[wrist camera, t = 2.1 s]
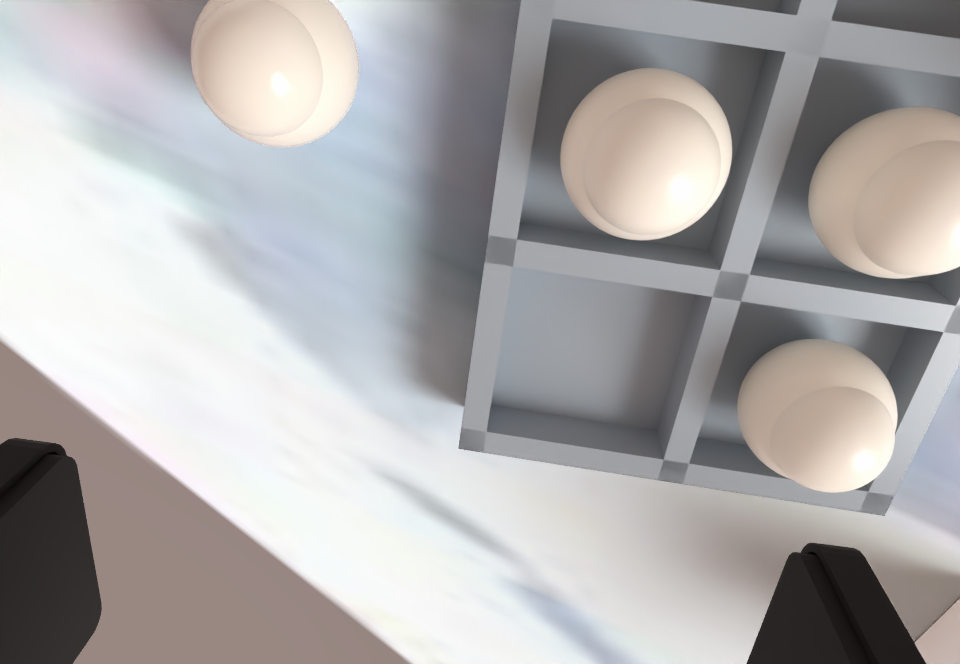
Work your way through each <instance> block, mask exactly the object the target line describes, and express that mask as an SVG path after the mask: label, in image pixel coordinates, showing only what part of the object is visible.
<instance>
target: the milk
mask: <svg viewBox="0 0 960 664" xmlns="http://www.w3.org/2000/svg"><path fill="white" fill-rule="evenodd" d="M915 645H916V647H917V649H918V650H919V652H920V654H921V655H922V657H923V659H924V661H925V662H926V664H960V599H959V600H958V601H957V602H956V603H955V604H954V605H953V606H952V607H950V608H949V609H948V610H947V611H946V612H945V613H944V614H943V615H942V616H941V617H940V618H939V619H938V620H937V621H936V622H935V623H934V624H933V625H932V626H931V627H930V628H929V629H928V630H927V631H926V632H925V633H924V634H923V635H922V636H921V637H920V638H919V639H918V640H917V641H916V642H915Z"/></svg>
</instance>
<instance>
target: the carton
mask: <svg viewBox="0 0 960 664" xmlns="http://www.w3.org/2000/svg"><path fill="white" fill-rule="evenodd" d="M959 363H960V0H521V4H520V11H519V18H518V25H517V32H516V39H515V47H514V54H513V61H512V68H511V75H510V82H509V90H508V97H507V104H506V111H505V118H504V126H503V133H502V140H501V147H500V154H499V161H498V169H497V176H496V183H495V190H494V197H493V205H492V212H491V219H490V226H489V233H488V240H487V248H486V255H485V262H484V269H483V276H482V284H481V291H480V298H479V305H478V312H477V319H476V327H475V334H474V341H473V348H472V355H471V363H470V370H469V377H468V384H467V391H466V398H465V406H464V413H463V420H462V427H461V434H460V441H459V449H464V450H470V451H477V452H483V453H489V454H496V455H502V456H508V457H515V458H521V459H527V460H534V461H540V462H546V463H553V464H559V465H565V466H572V467H578V468H584V469H591V470H597V471H603V472H610V473H616V474H622V475H629V476H635V477H641V478H648V479H654V480H660V481H667V482H673V483H679V484H686V485H692V486H698V487H705V488H711V489H717V490H724V491H730V492H736V493H743V494H749V495H755V496H762V497H768V498H774V499H781V500H787V501H793V502H800V503H806V504H812V505H819V506H825V507H831V508H838V509H844V510H850V511H857V512H863V513H869V514H876V515H882V516H885V514H886V512H887V510H888V508H889V505H890V503H891V501H892V499H893V497H894V495H895V493H896V491H897V489H898V487H899V485H900V483H901V481H902V479H903V477H904V475H905V473H906V471H907V469H908V467H909V465H910V463H911V461H912V459H913V457H914V455H915V453H916V451H917V449H918V447H919V445H920V443H921V441H922V438H923V436H924V434H925V432H926V430H927V428H928V426H929V424H930V422H931V420H932V418H933V416H934V414H935V412H936V410H937V408H938V406H939V404H940V402H941V400H942V398H943V396H944V394H945V392H946V390H947V388H948V386H949V384H950V382H951V380H952V378H953V376H954V374H955V371H956V369H957V367H958V365H959Z"/></svg>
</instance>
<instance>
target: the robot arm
mask: <svg viewBox="0 0 960 664" xmlns="http://www.w3.org/2000/svg"><path fill="white" fill-rule="evenodd" d="M101 609H102V608H101V599H100V593H99V587H98V582H97V576H96V570H95V565H94V560H93V553H92V548H91V542H90V536H89V531H88V525H87V519H86V514H85V508H84V503H83V497H82V491H81V486H80V480H79V474H78V469H77V465H76V462H75V460H74V459H73V458H72V457H68V456H67V455H66V452H65V450H64V448H63V447H62V446H61V445H59V444H56V443H49V442H41V441H33V440H26V439H19V438H13V439H8V440H7V441H5V442H4V443H2V444H1V445H0V664H73V662H74V661H75V659H76V657H77V656H78V655H79V654H80V652H81V651H82V649H83V648H84V646H85V645H86V643H87V642H88V640H89V639H90V637H91V636H92V635H93V633H94V631H95V629H96V627H97V625H98V622H99V619H100V615H101ZM747 664H926V662H925V661H924V659H923V657H922V655H921V654H920V652H919V650H918V649H917V647H916V645H915V643H914V642H913V640H912V638H911V636H910V635H909V633H908V631H907V629H906V628H905V626H904V624H903V623H902V621H901V619H900V617H899V616H898V614H897V612H896V610H895V609H894V607H893V605H892V603H891V602H890V600H889V598H888V597H887V595H886V593H885V591H884V590H883V588H882V586H881V584H880V583H879V581H878V579H877V577H876V576H875V574H874V572H873V571H872V569H871V567H870V565H869V564H868V562H867V560H866V558H865V557H864V556H863V554H862V553H861V552H860V551H859V550H857V549H855V548H848V547H840V546H833V545H825V544H817V543H808V544H807V545H806V546H805V547H804V548H803V550H802V551H801V553H797V552H794V553H792V554H790V555H789V557H788V559H787V561H786V564H785V566H784V569H783V571H782V574H781V576H780V579H779V582H778V584H777V587H776V589H775V592H774V595H773V597H772V600H771V602H770V605H769V607H768V610H767V613H766V615H765V618H764V620H763V623H762V625H761V628H760V631H759V633H758V636H757V638H756V641H755V643H754V646H753V649H752V651H751V654H750V656H749V659H748V662H747Z"/></svg>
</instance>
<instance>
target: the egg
mask: <svg viewBox="0 0 960 664" xmlns="http://www.w3.org/2000/svg"><path fill="white" fill-rule="evenodd" d="M191 65H192V73H193V77H194V81H195V84H196V87H197V89H198V91H199V93H200V95H201V97H202V99H203V100H204V102H205V103H206V105H207V106H208V107H209V109H210V110H211V111H212V112H213V113H214V115H215V116H216V117H217V118H218V119H219V120H220V121H221V122H222V123H223V124H224V125H225V126H227V127H228V128H229V129H230V130H232V131H233V132H235V133H236V134H238V135H239V136H241V137H243V138H245V139H247V140H250V141H252V142H255V143H258V144H261V145H265V146H270V147H296V146H301V145H305V144H308V143H310V142H313V141H316V140H317V139H319V138H321V137H323V136H325V135H326V134H328V133H329V132H330V131H332V130H333V129H334V128H335V127H336V126H337V125H338V124H339V123H340V122H341V120H342V119H343V118H344V117H345V115H346V114H347V112H348V110H349V109H350V107H351V105H352V102H353V100H354V97H355V94H356V90H357V86H358V81H359V57H358V51H357V47H356V43H355V40H354V37H353V35H352V32H351V30H350V28H349V26H348V24H347V22H346V20H345V19H344V17H343V16H342V14H341V13H340V12H339V10H338V9H337V8H336V7H335V6H334V5H333V3H332V2H330V1H329V0H209V1H208V2H207V4H206V5H205V7H204V8H203V10H202V11H201V13H200V15H199V17H198V19H197V22H196V24H195V27H194V31H193V34H192V41H191Z"/></svg>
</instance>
